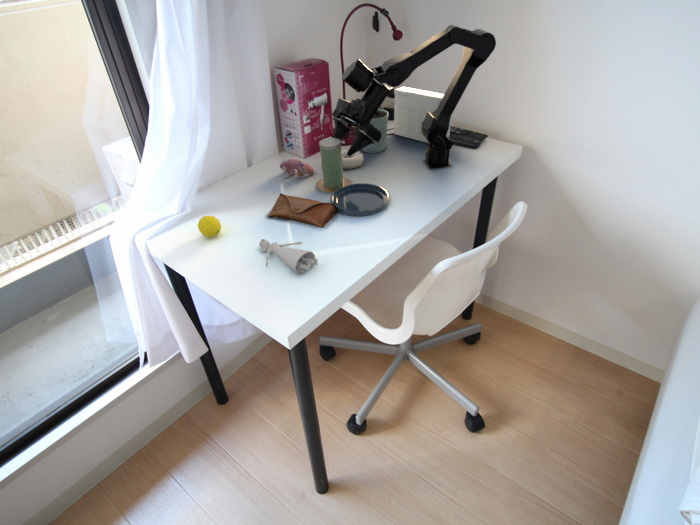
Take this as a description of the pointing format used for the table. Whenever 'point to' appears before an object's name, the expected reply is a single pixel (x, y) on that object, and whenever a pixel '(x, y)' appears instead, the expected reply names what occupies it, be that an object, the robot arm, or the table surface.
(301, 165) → the video game controller
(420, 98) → the skincare box
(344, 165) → the donut
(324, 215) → the sunglasses case
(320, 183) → the coaster
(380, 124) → the grey-green cup
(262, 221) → the table surface
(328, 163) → the tea tin
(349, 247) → the table surface
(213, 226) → the lemon
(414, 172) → the table surface
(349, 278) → the table surface
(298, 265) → the woman figurine
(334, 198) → the plate
